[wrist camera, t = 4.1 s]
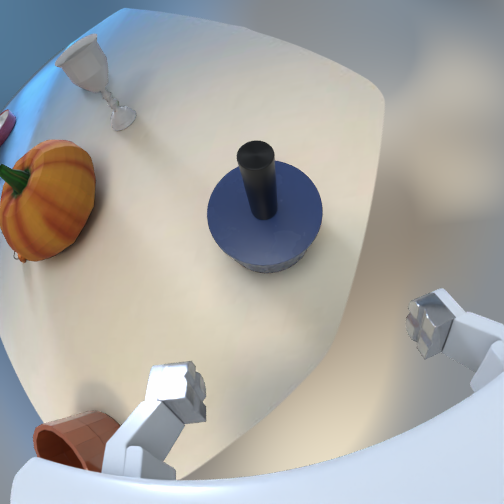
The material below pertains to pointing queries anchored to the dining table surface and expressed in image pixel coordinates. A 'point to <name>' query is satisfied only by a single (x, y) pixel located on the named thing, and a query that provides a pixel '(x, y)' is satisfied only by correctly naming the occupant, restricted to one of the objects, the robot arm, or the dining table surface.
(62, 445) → the pot
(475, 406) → the robot arm
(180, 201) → the dining table surface
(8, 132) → the frying pan
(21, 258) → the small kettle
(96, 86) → the chalice
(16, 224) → the pumpkin
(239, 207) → the lid
